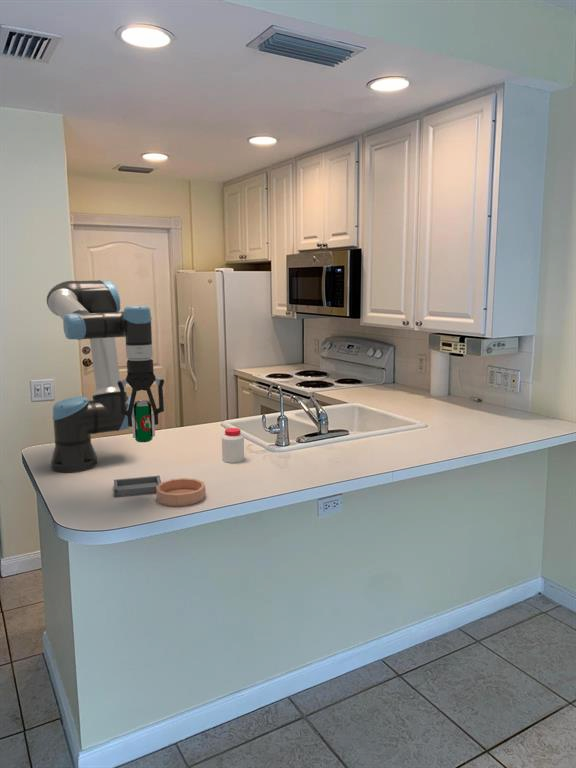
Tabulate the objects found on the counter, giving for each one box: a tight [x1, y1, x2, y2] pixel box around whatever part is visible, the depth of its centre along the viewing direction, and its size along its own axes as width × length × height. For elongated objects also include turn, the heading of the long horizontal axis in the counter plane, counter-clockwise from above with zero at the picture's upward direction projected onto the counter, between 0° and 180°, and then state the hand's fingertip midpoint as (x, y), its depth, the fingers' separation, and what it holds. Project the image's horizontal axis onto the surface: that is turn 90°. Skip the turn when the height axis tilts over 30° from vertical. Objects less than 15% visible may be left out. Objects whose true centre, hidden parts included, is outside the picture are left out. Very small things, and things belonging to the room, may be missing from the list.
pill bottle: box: [221, 427, 245, 464], centre depth 212 cm, size 8×8×11 cm
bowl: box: [155, 477, 207, 507], centre depth 176 cm, size 14×14×3 cm
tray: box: [113, 475, 162, 498], centre depth 183 cm, size 14×10×2 cm
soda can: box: [134, 399, 153, 443], centre depth 178 cm, size 5×5×12 cm
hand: (143, 436), depth 178 cm, fingers closed on soda can, 5 cm apart
